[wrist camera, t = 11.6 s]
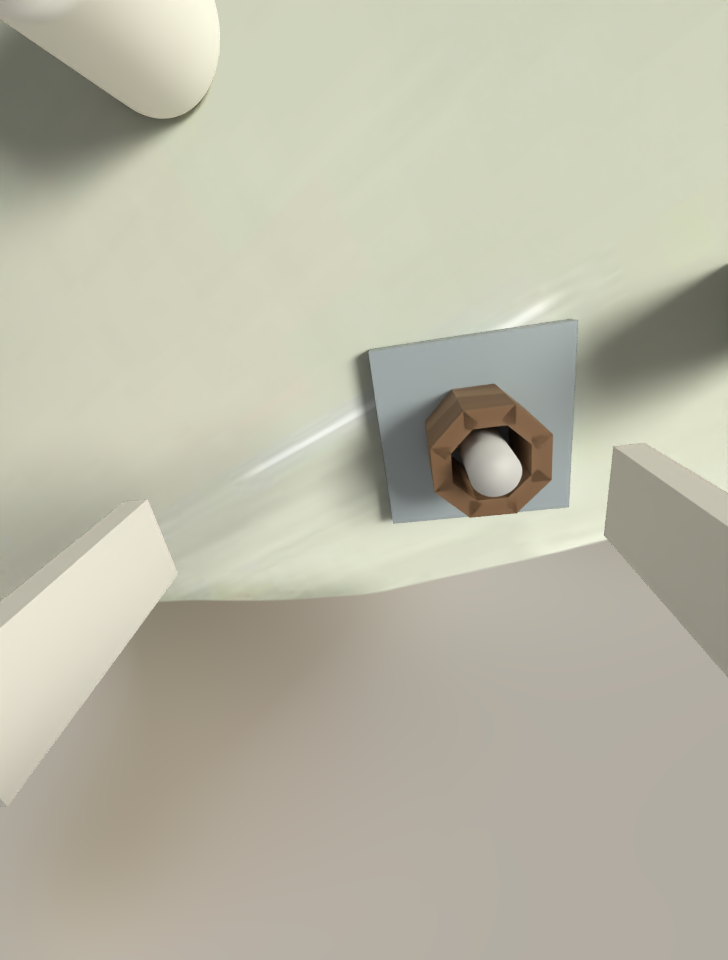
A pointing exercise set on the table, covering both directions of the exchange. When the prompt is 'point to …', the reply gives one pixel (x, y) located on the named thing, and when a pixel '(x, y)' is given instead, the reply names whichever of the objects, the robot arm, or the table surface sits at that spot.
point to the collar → (483, 411)
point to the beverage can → (129, 46)
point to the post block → (484, 452)
